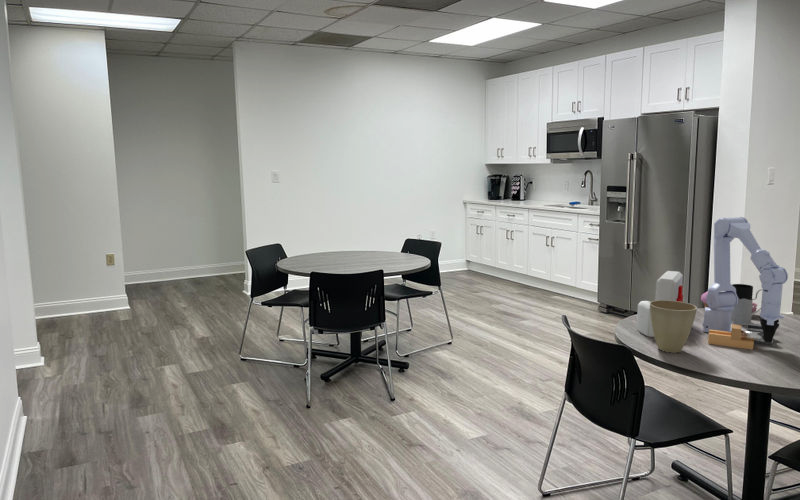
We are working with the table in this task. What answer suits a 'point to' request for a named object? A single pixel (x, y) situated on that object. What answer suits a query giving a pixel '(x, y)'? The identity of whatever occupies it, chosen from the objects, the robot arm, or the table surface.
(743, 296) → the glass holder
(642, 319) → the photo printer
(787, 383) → the table surface
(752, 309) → the pink lumpy figurine
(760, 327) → the v-block
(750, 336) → the axle
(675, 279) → the bevelled white case
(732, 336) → the bearing beam
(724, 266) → the robot arm
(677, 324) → the plant pot
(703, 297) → the cupcake
